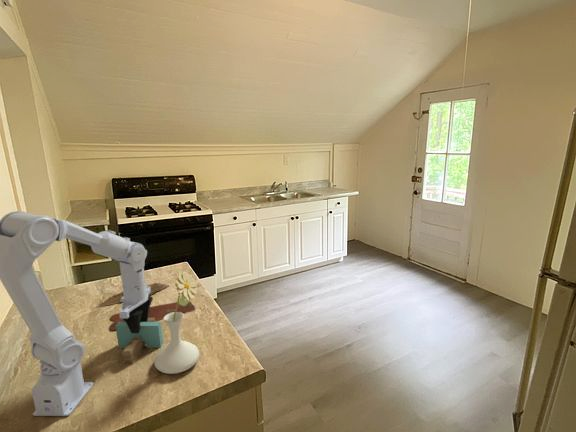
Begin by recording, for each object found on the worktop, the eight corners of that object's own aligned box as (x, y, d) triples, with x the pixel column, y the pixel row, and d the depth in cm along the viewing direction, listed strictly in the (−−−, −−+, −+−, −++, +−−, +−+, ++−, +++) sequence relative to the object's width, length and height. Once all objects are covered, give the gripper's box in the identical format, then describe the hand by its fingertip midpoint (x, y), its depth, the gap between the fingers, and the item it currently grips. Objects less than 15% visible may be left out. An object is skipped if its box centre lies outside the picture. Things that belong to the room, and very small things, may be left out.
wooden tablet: (109, 334, 100) (109, 329, 100) (110, 318, 109) (109, 314, 108) (197, 313, 112) (196, 308, 112) (191, 300, 121) (190, 296, 120)
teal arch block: (163, 343, 95) (160, 321, 93) (160, 347, 93) (158, 325, 91) (122, 343, 95) (119, 321, 93) (118, 347, 93) (115, 325, 91)
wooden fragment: (164, 281, 135) (164, 279, 135) (173, 291, 126) (173, 289, 126) (93, 300, 120) (93, 298, 120) (98, 313, 111) (97, 310, 111)
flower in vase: (174, 385, 79) (165, 291, 73) (145, 367, 85) (135, 279, 79) (213, 355, 90) (208, 271, 84) (185, 341, 96) (178, 262, 90)
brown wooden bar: (132, 364, 86) (130, 351, 85) (124, 364, 86) (122, 351, 85) (156, 329, 102) (154, 317, 101) (149, 329, 102) (148, 317, 101)
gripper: (131, 272, 96) (136, 313, 99) (105, 296, 82) (112, 343, 85) (155, 272, 96) (159, 313, 99) (132, 296, 82) (138, 343, 85)
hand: (139, 327), depth 92 cm, fingers open, 4 cm apart
